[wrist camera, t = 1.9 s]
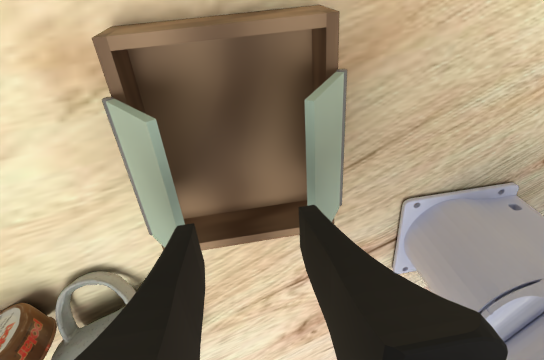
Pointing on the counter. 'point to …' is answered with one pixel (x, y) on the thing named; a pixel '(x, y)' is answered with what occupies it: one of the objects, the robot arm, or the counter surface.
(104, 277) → the ceramic mug
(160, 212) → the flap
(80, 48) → the counter surface
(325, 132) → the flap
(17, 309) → the tin
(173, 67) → the crate
